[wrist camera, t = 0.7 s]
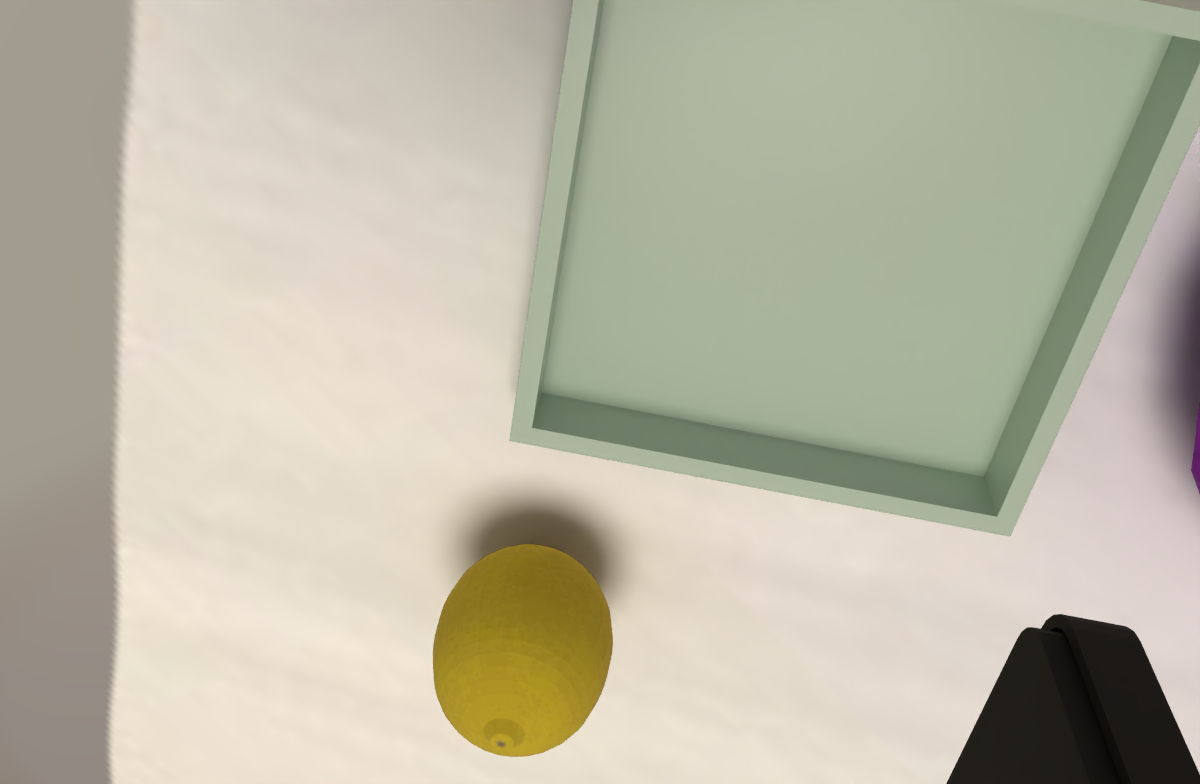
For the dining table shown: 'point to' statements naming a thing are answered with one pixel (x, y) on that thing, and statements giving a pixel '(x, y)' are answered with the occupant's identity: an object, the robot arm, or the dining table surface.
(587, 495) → the dining table surface
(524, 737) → the lemon
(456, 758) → the dining table surface
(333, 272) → the dining table surface
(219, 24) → the dining table surface
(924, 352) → the green rectangular frame
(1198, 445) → the decorative plant
